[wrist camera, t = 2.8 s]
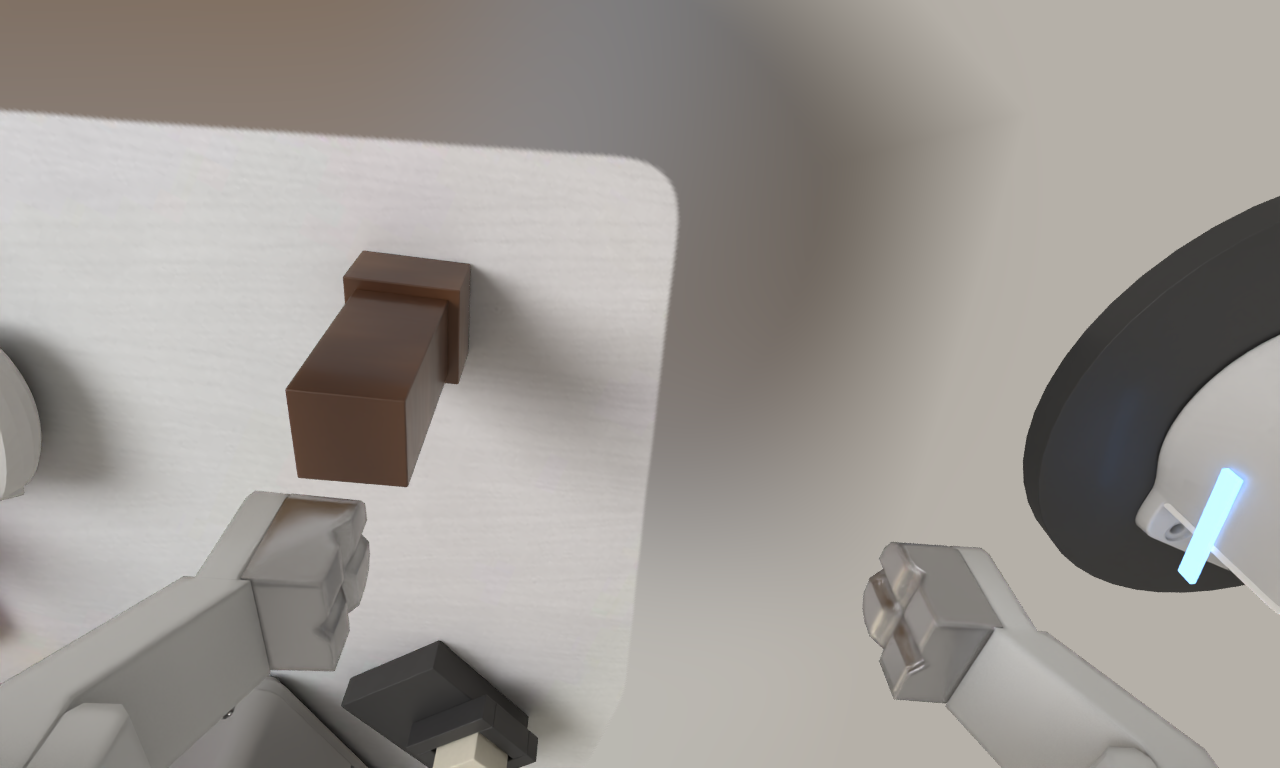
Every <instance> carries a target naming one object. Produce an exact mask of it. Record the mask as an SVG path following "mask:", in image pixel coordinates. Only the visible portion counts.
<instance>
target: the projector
mask: <svg viewBox="0 0 1280 768" xmlns="http://www.w3.org/2000/svg"><path fill="white" fill-rule="evenodd" d="M168 768H368V767H367V766H366V765H365V764H364V763H363V762H362V761H361V760H360V759H359V758H358V757H357V756H356V755H355V754H354V753H353V752H352V751H351V750H349V749H348V748H347V747H346V746H345V745H344V744H343V743H342V742H341V741H340V740H339V739H338V738H337V737H336V736H335V735H334V734H333V733H332V732H331V731H330V730H329V729H328V728H327V727H326V726H325V725H324V724H323V723H322V722H321V721H320V720H319V719H318V718H317V717H316V716H315V715H314V714H313V713H312V712H311V711H310V710H309V709H308V708H307V707H306V706H305V705H304V704H303V703H302V702H301V701H299V700H298V699H297V698H296V697H295V696H294V695H293V694H292V693H291V692H290V691H289V690H288V689H287V688H286V687H285V686H284V685H283V684H281V683H280V681H279V680H278V679H277V678H275V677H271V676H267V677H266V678H265V679H264V680H263V681H262V682H261V683H260V684H259V685H257V686H256V687H255V688H254V689H253V690H252V691H251V692H250V693H249V694H248V695H246V696H245V697H244V698H243V699H242V700H241V701H240V702H239V703H238V704H237V705H236V706H234V707H233V708H232V709H231V710H230V711H229V712H228V713H227V714H226V715H225V716H223V717H222V718H221V719H220V720H219V721H218V722H217V723H216V724H215V725H214V726H213V727H211V728H210V729H209V730H208V731H207V732H206V733H205V734H204V735H203V736H202V737H200V738H199V739H198V740H197V741H196V742H195V743H194V744H193V745H192V746H191V747H190V748H188V749H187V750H186V751H185V752H184V753H183V754H182V755H181V756H180V757H179V758H178V759H176V760H175V761H174V762H173V763H172V764H171V765H170V766H169V767H168Z"/></svg>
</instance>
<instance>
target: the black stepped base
mask: <svg viewBox="0 0 1280 768" xmlns="http://www.w3.org/2000/svg"><path fill="white" fill-rule="evenodd" d="M341 706H342V707H343V708H344V709H346V710H347V711H349V712H350V713H351V714H353V715H354V716H356V717H357V718H359V719H360V720H361V721H363V722H364V723H366V724H367V725H368V726H370V727H371V728H373V729H374V730H376V731H377V732H378V733H380V734H381V735H383V736H384V737H386V738H387V739H388V740H390V741H391V742H393V743H394V744H396V745H397V746H398V747H400V748H401V749H403V750H404V751H406V752H407V753H408V754H410V755H411V756H413V757H414V758H416V759H417V760H418V761H420V762H421V763H423V764H424V765H425V766H427V767H428V768H433V764H434V759H435V755H436V750H437V748H438V747H440V746H443V745H446V744H448V743H451V742H454V741H456V740H459V739H461V738H464V737H467V736H469V735H472V734H475V733H477V732H480V733H481V734H482V735H483V736H485V737H486V738H487V739H488V740H490V741H491V742H492V743H494V744H495V745H496V746H497V747H499V748H500V749H501V750H502V751H504V752H505V753H506V754H508V760H507V768H520V767H522V766H525V765H528V764H531V763H534V762H536V756H537V744H538V738H537V737H536V736H535V735H534V734H533V733H531V732H530V731H529V730H528V729H527V727H528V716H527V715H526V714H525V713H524V712H522V711H521V710H520V709H519V708H518V707H516V706H515V705H514V704H513V703H512V702H511V701H509V700H508V699H507V698H506V697H505V696H504V695H502V694H501V693H500V692H499V691H498V690H497V689H495V688H494V687H493V686H492V685H491V684H490V683H488V682H487V681H486V680H485V679H484V678H483V677H481V676H480V675H479V674H478V673H477V672H476V671H474V670H473V669H472V668H471V667H470V666H469V665H467V664H466V663H465V662H464V661H463V660H462V659H460V658H459V657H458V656H457V655H456V654H455V653H453V652H452V651H451V650H450V649H449V648H448V647H446V646H445V645H444V644H443V643H442V642H441V641H437V642H435V643H432V644H430V645H428V646H425V647H423V648H421V649H418V650H416V651H414V652H411V653H409V654H407V655H404V656H402V657H400V658H397V659H395V660H392V661H390V662H388V663H385V664H383V665H381V666H378V667H376V668H374V669H371V670H369V671H367V672H364V673H362V674H360V675H357V676H355V677H352V678H351V679H350V681H349V684H348V687H347V690H346V693H345V696H344V699H343V702H342V705H341Z"/></svg>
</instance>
